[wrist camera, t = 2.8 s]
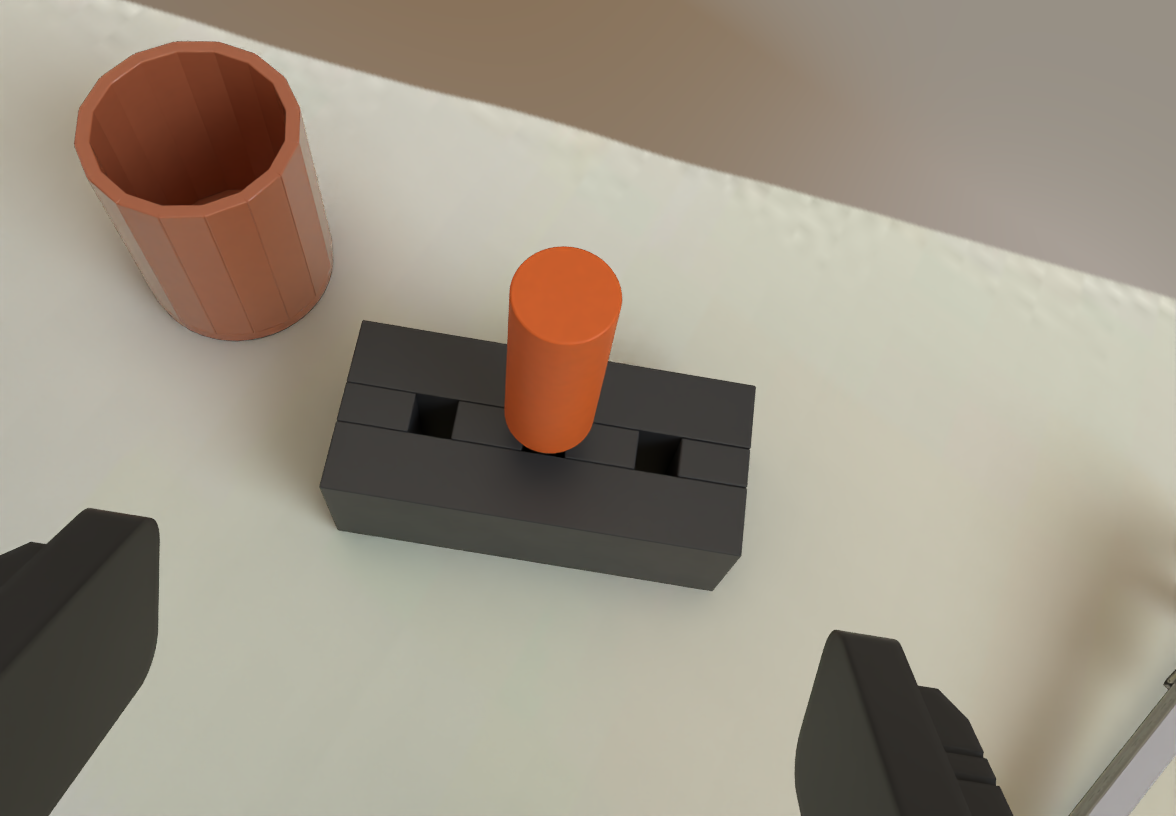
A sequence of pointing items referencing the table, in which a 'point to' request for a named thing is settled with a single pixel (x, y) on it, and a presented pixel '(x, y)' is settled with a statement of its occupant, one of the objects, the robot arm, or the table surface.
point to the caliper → (1135, 762)
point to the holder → (540, 463)
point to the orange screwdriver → (558, 346)
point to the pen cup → (210, 186)
